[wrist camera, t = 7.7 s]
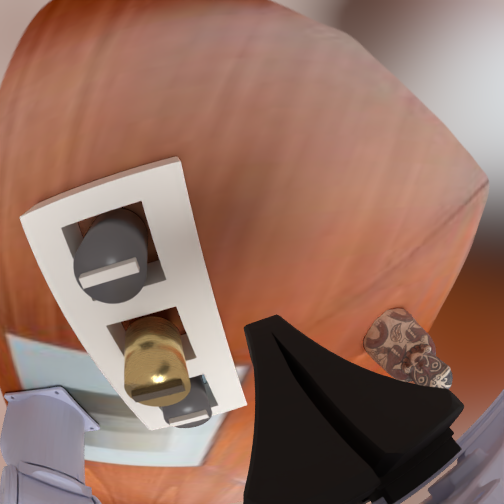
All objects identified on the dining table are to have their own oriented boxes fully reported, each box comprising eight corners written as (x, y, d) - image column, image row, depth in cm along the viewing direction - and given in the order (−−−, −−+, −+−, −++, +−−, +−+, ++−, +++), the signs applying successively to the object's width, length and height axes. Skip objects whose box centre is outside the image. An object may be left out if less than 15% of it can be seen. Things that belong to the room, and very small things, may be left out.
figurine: (401, 296, 30) (472, 355, 20) (408, 325, 34) (465, 378, 23) (357, 335, 30) (421, 407, 20) (369, 359, 34) (422, 421, 23)
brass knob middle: (138, 363, 19) (141, 417, 15) (116, 324, 17) (112, 380, 13) (187, 350, 20) (200, 403, 15) (170, 310, 18) (179, 364, 14)
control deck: (147, 407, 25) (150, 430, 22) (37, 203, 14) (19, 217, 12) (238, 382, 27) (247, 404, 24) (177, 156, 16) (180, 160, 14)
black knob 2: (167, 393, 24) (174, 436, 20) (151, 368, 22) (156, 414, 18) (205, 383, 25) (218, 425, 20) (194, 357, 23) (206, 402, 19)
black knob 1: (102, 272, 17) (90, 316, 13) (81, 219, 15) (59, 251, 11) (155, 256, 18) (157, 297, 14) (138, 200, 16) (131, 226, 12)
